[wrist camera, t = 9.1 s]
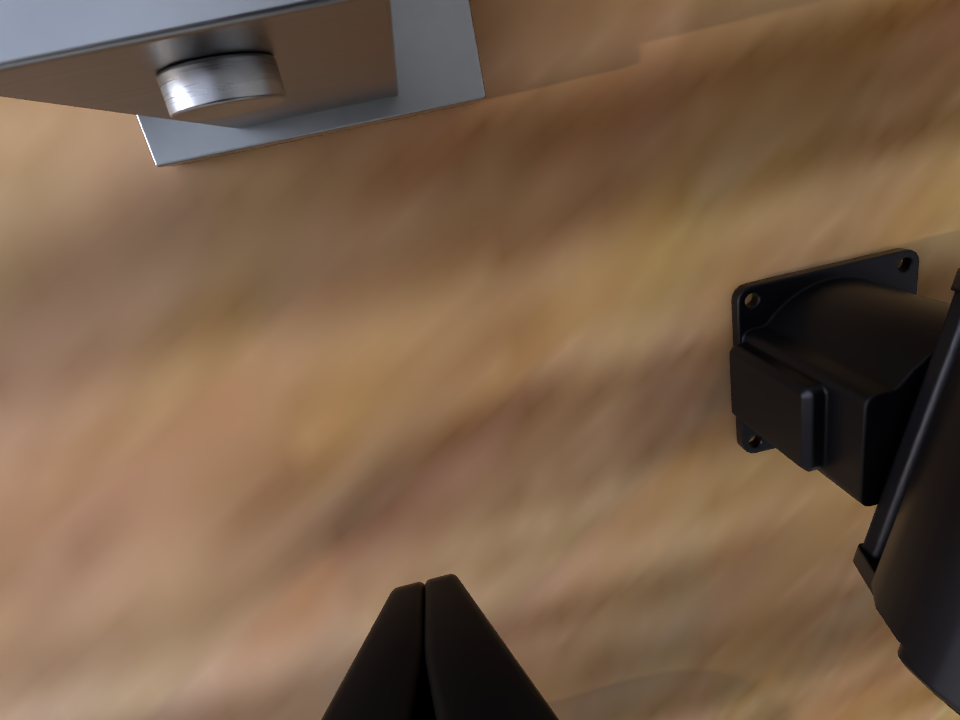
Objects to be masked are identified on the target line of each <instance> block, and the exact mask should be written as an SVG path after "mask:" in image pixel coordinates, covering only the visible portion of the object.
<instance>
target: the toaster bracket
mask: <svg viewBox="0 0 960 720" xmlns="http://www.w3.org/2000/svg"><path fill="white" fill-rule="evenodd" d="M0 96H2V97H9V98H17V99H24V100H31V101H39V102H46V103H53V104H61V105H68V106H75V107H83V108H90V109H97V110H105V111H112V112H119V113H127V114H134V115H137V118H138V121H139V123H140V126H141V128H142V131H143V134H144V136H145V139H146V141H147V144H148V147H149V149H150V152H151V154H152V157H153V160H154V162H155V165H156V166H158V167H163V166H175V165H180V164H185V163H190V162H194V161H199V160H204V159H209V158H213V157H218V156H223V155H228V154H232V153H237V152H242V151H247V150H251V149H256V148H261V147H266V146H270V145H275V144H280V143H285V142H289V141H294V140H299V139H304V138H308V137H313V136H318V135H323V134H328V133H332V132H337V131H342V130H347V129H351V128H356V127H361V126H366V125H370V124H375V123H380V122H385V121H389V120H394V119H399V118H404V117H408V116H413V115H418V114H423V113H427V112H432V111H437V110H442V109H446V108H451V107H456V106H461V105H465V104H470V103H475V102H479V101H481V100H482V99H484V98H485V97H486V93H485V88H484V82H483V77H482V71H481V65H480V60H479V54H478V48H477V43H476V37H475V31H474V26H473V20H472V14H471V9H470V3H469V0H0Z"/></svg>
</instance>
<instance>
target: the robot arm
mask: <svg viewBox="0 0 960 720" xmlns="http://www.w3.org/2000/svg"><path fill="white" fill-rule="evenodd" d="M902 259H903V262H902V265H901V266H900V267H899V268H898V265H899V262H900V261H901V260H902ZM918 267H919V257H918V255H917V253H916V252H914V251H912V250H908V249H903V248H897V249H892V250H888V251H884V252H879V253H875V254H871V255H866V256H862V257H858V258H853V259H849V260H845V261H840V262H836V263H832V264H827V265H823V266H819V267H814V268H810V269H806V270H801V271H797V272H793V273H788V274H784V275H780V276H775V277H771V278H767V279H762V280H758V281H754V282H749V283H745V284H743V285H740V286H739V287H738V288H737V289H736V290H735V291H734V293H733V295H732V326H733V347H732V349H731V351H730V377H731V401H732V413H733V414H734V415H735V416H736V429H737V442H738V444H739V445H740V446H741V447H742V448H743V449H744V450H746V451H747V452H749V453H757V452H761V451H765V450H769V449H773V448H777V449H778V450H779V451H781V452H782V453H783V454H784V455H786V456H787V457H788V458H789V459H791V460H792V461H793V462H794V463H796V464H797V465H798V466H800V467H801V468H803V469H804V470H806V471H808V472H809V471H813V470H818V471H820V472H821V473H822V474H824V475H825V476H826V477H828V478H829V479H830V480H831V481H833V482H834V483H835V484H837V485H838V486H839V487H841V488H842V489H843V490H844V491H846V492H847V493H848V494H850V495H851V496H852V497H854V498H855V499H856V500H857V501H859V502H860V503H861V504H863V505H864V506H873V505H876V504H878V505H877V508H876V510H875V513H874V516H873V519H872V521H871V524H870V527H869V530H868V532H867V535H866V538H865V541H864V543H861V544H859V545H858V548H857V550H856V553H855V556H854V559H853V562H854V564H855V566H856V567H857V569H858V571H859V572H860V574H861V576H862V577H863V579H864V581H865V582H866V584H867V586H868V587H869V589H870V591H871V592H872V594H873V596H874V601H875V606H876V609H877V610H878V612H879V613H880V615H881V616H882V618H883V619H884V621H885V622H886V624H887V625H888V627H889V628H890V630H891V631H892V633H893V634H894V636H895V637H896V639H897V640H898V641H899V642H900V643H901V645H900V647H899V649H898V656H899V658H900V659H901V661H902V662H903V663H904V665H905V666H906V667H907V669H908V670H909V671H910V672H911V673H912V674H914V675H915V676H916V677H917V678H918V679H919V680H920V681H921V682H922V683H923V684H924V685H925V686H926V687H927V688H928V689H930V690H931V691H932V692H933V693H934V694H935V695H936V696H937V697H938V698H940V699H941V700H942V701H944V702H945V703H946V704H947V705H948V706H949V707H950V708H951V709H953V710H954V711H955V712H956V713H958V714H959V715H960V268H958V270H957V273H956V276H955V279H954V282H953V284H952V287H951V290H953V291H955V293H954V296H953V299H952V302H951V304H948V303H944V302H941V301H937V300H934V299H930V298H926V297H923V296H919V295H916V291H917V279H918ZM751 293H752V300H751V301H750V302H749V303H748V304H746V305H745V298H746V297H747V296H748V295H749V294H751ZM755 435H756V437H755V439H754V440H753V441H751V442H749V440H750V439H751V437H753V436H755ZM321 720H559V719H558V718H557V716H556V715H555V714H554V712H553V711H552V709H551V708H550V707H549V705H548V704H547V702H546V701H545V700H544V698H543V697H542V695H541V694H540V692H539V691H538V690H537V688H536V687H535V685H534V684H533V683H532V681H531V680H530V678H529V677H528V676H527V674H526V673H525V671H524V670H523V669H522V667H521V666H520V664H519V663H518V662H517V660H516V659H515V657H514V656H513V655H512V653H511V652H510V650H509V649H508V648H507V646H506V645H505V643H504V642H503V640H502V639H501V638H500V636H499V635H498V633H497V632H496V631H495V629H494V628H493V626H492V625H491V624H490V622H489V621H488V619H487V618H486V617H485V615H484V614H483V612H482V611H481V610H480V608H479V607H478V605H477V604H476V603H475V601H474V600H473V598H472V597H471V596H470V594H469V593H468V591H467V590H466V589H465V587H464V586H463V584H462V583H461V581H460V580H459V579H458V577H457V576H456V575H454V574H449V575H445V576H441V577H437V578H433V579H429V580H428V581H427V582H426V584H425V585H424V584H423V583H422V582H417V583H413V584H409V585H405V586H401V587H397V588H395V589H394V590H393V591H392V592H391V594H390V596H389V597H388V599H387V601H386V603H385V605H384V606H383V608H382V610H381V612H380V614H379V616H378V617H377V619H376V621H375V623H374V625H373V627H372V628H371V630H370V632H369V634H368V636H367V637H366V639H365V641H364V643H363V645H362V647H361V648H360V650H359V652H358V654H357V656H356V658H355V659H354V661H353V663H352V665H351V667H350V668H349V670H348V672H347V674H346V676H345V678H344V679H343V681H342V683H341V685H340V687H339V688H338V690H337V692H336V694H335V696H334V698H333V699H332V701H331V703H330V705H329V707H328V709H327V710H326V712H325V714H324V716H323V718H322V719H321Z"/></svg>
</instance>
